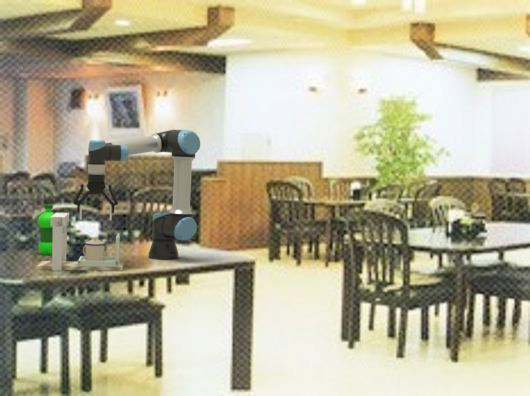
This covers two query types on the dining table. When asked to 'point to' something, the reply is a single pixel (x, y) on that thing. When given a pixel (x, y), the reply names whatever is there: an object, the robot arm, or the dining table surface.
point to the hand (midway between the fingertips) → (95, 220)
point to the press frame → (59, 239)
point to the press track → (76, 266)
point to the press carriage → (107, 261)
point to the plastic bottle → (46, 231)
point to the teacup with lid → (94, 250)
